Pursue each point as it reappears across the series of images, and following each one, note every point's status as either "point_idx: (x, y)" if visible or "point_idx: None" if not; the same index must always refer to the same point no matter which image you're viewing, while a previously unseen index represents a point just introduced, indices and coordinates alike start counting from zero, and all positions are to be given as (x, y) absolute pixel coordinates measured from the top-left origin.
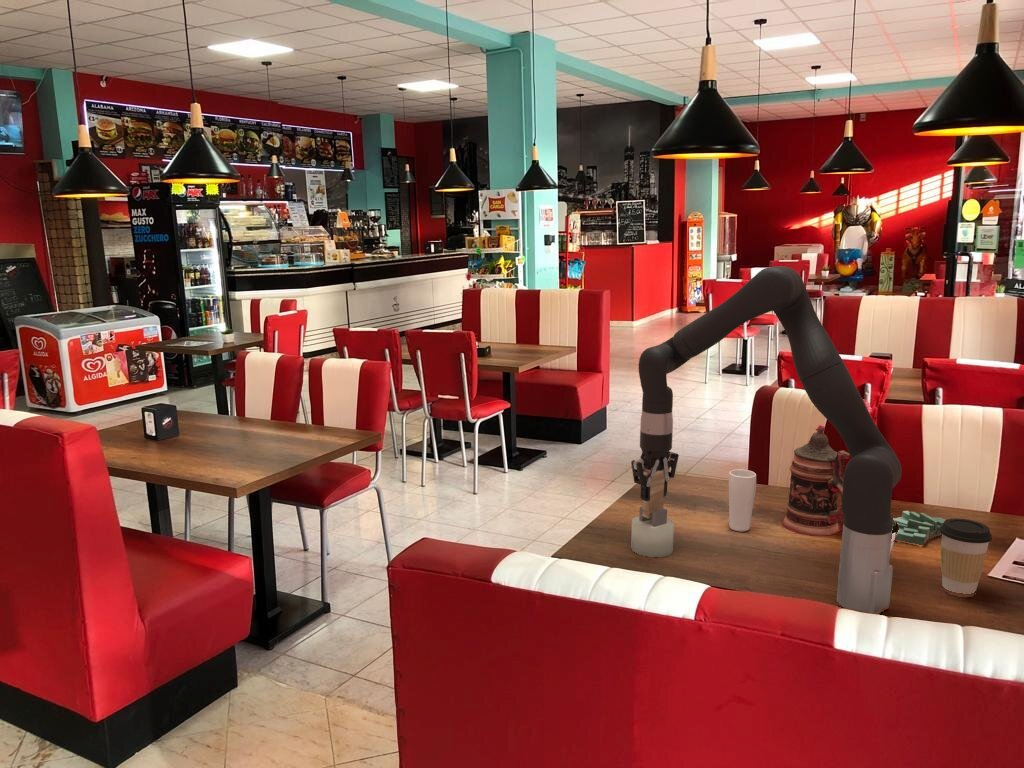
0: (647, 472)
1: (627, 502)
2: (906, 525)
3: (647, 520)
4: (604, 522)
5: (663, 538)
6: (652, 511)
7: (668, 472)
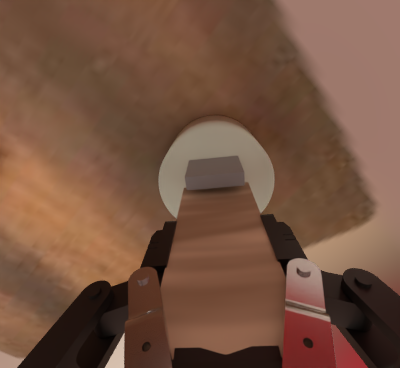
0: None
1: None
2: None
3: None
4: None
5: (225, 123)
6: (234, 192)
7: (106, 323)
